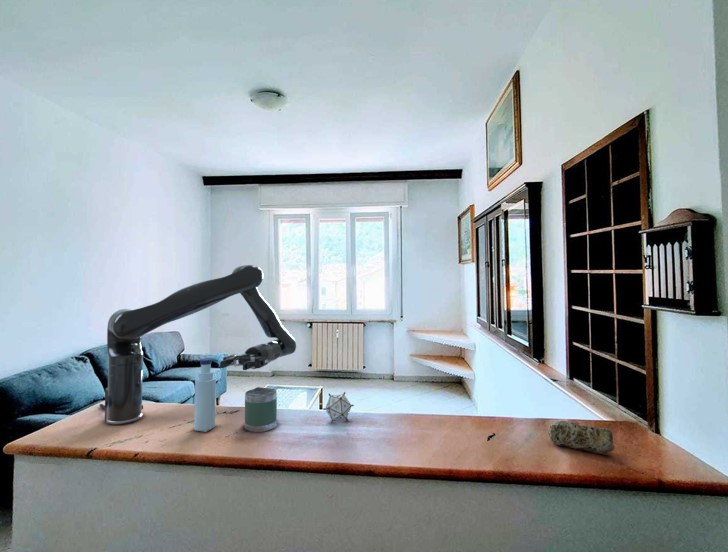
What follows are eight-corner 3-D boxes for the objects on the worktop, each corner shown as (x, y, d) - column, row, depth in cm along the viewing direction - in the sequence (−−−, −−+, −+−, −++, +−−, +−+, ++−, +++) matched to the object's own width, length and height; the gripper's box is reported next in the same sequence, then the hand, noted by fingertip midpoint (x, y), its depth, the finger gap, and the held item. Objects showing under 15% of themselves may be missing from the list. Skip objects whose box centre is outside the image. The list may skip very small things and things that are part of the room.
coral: (547, 446, 103) (546, 422, 103) (549, 438, 108) (549, 415, 108) (614, 460, 95) (613, 434, 95) (614, 451, 100) (613, 425, 101)
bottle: (189, 431, 113) (191, 360, 114) (203, 423, 118) (204, 356, 119) (206, 433, 111) (207, 362, 112) (219, 426, 116) (220, 358, 117)
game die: (342, 435, 119) (349, 415, 113) (316, 422, 121) (321, 402, 115) (353, 411, 126) (359, 391, 121) (328, 400, 128) (334, 380, 123)
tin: (238, 429, 114) (238, 394, 114) (255, 418, 122) (256, 385, 123) (266, 433, 111) (266, 397, 111) (282, 422, 119) (282, 388, 120)
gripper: (242, 343, 145) (213, 352, 130) (277, 346, 140) (251, 355, 125) (242, 364, 145) (213, 376, 129) (277, 367, 140) (251, 379, 125)
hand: (232, 366), depth 127 cm, fingers open, 8 cm apart
